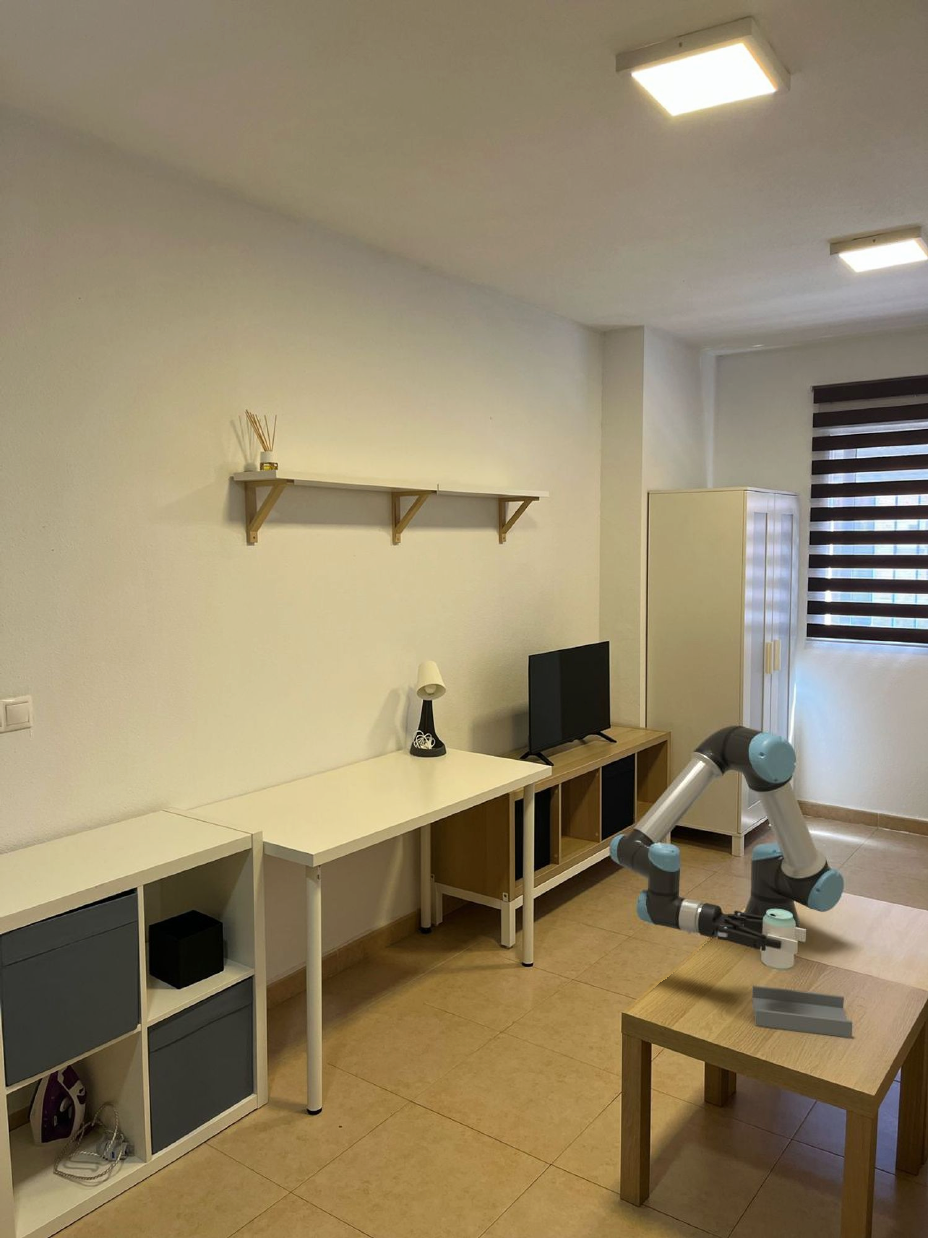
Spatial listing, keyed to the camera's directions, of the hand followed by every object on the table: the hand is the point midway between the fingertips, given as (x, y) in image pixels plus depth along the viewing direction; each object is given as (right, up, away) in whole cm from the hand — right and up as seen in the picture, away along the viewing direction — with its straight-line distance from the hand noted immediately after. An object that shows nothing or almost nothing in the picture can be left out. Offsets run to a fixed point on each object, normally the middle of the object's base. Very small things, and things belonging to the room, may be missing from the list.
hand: (801, 941), depth 214 cm
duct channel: (0, -18, +1) cm, 18 cm away
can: (-4, -7, +3) cm, 8 cm away
